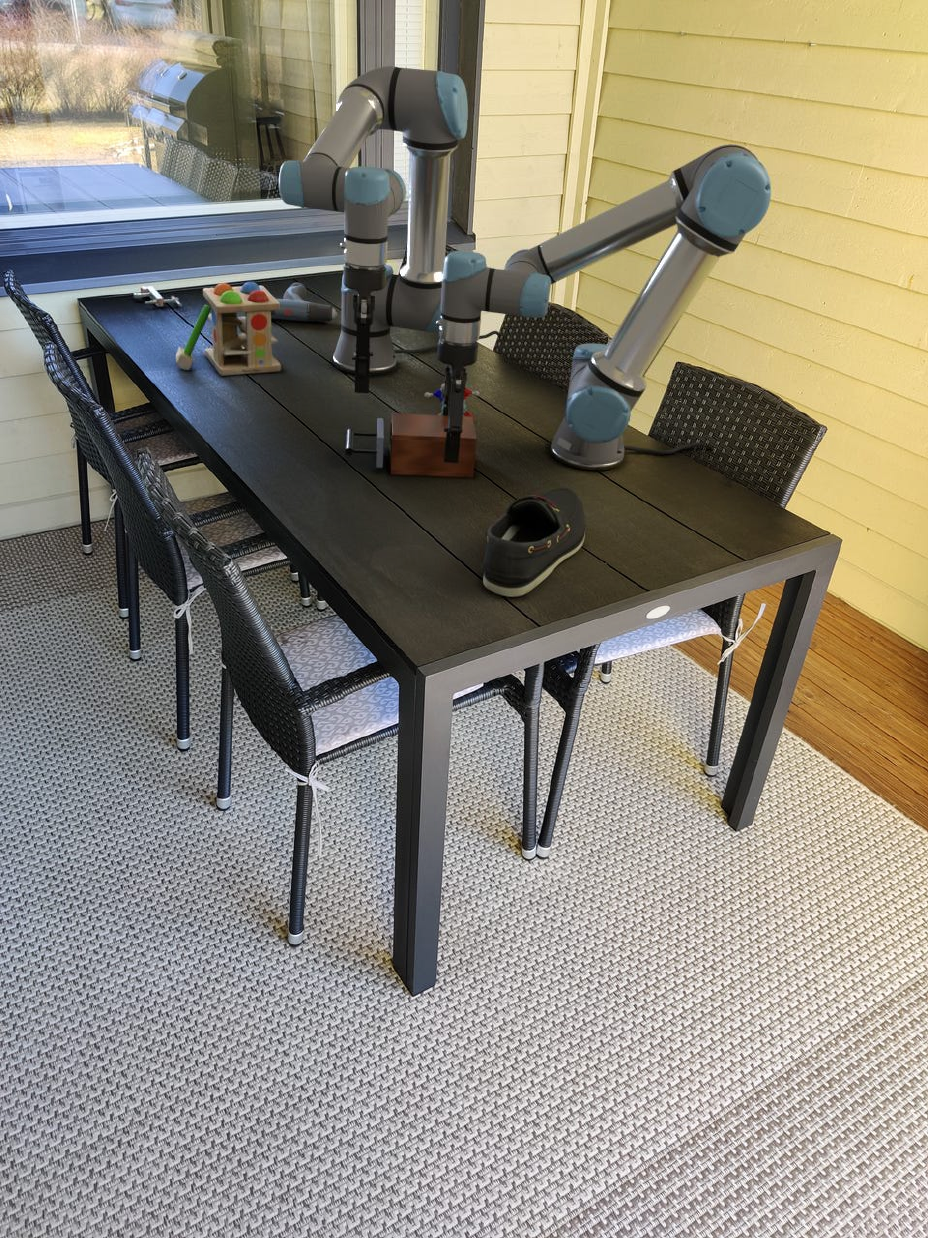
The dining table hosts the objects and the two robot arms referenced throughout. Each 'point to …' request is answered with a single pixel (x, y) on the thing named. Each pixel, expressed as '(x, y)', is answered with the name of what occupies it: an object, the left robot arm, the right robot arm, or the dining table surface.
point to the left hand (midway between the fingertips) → (361, 391)
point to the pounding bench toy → (229, 347)
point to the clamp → (155, 297)
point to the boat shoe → (532, 541)
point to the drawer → (380, 435)
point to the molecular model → (438, 395)
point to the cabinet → (429, 446)
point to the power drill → (301, 307)
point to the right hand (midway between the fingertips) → (449, 449)
